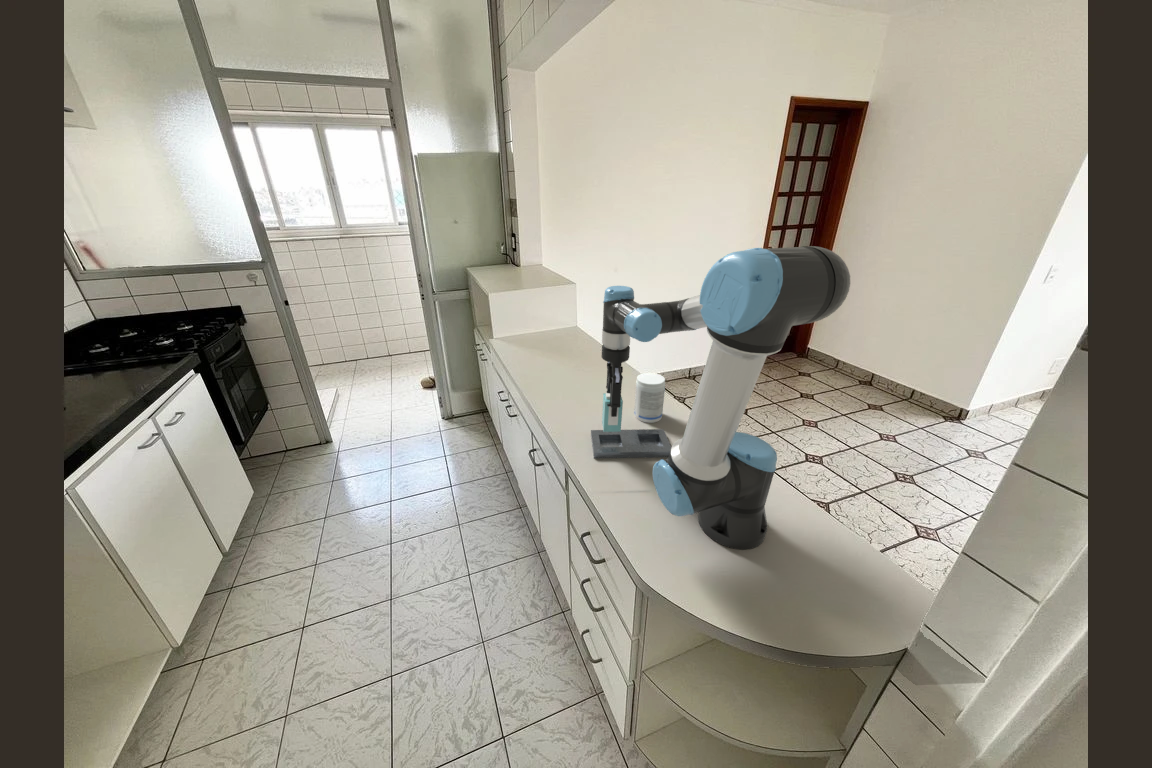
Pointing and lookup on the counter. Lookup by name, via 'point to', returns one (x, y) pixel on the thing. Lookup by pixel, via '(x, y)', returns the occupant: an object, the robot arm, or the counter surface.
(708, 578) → the counter surface
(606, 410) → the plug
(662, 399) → the supplement tub
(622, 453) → the grey socket board
